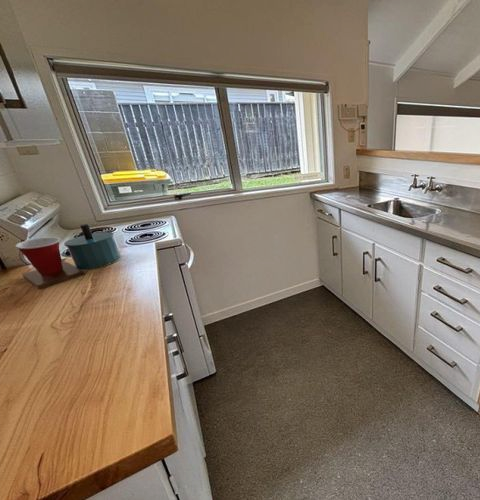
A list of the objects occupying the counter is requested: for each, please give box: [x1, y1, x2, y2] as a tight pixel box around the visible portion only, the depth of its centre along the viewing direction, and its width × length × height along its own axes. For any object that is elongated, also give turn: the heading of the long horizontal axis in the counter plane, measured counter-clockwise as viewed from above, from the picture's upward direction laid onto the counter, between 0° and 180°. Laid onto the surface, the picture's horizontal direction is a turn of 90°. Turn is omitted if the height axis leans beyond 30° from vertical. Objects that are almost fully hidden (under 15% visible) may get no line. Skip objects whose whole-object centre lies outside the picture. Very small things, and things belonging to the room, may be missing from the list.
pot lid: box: [63, 223, 115, 248], centre depth 108 cm, size 15×15×7 cm
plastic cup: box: [14, 236, 63, 276], centre depth 100 cm, size 11×11×12 cm
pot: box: [66, 236, 121, 271], centre depth 111 cm, size 14×14×10 cm
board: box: [21, 261, 86, 290], centre depth 102 cm, size 12×18×2 cm, turn 59°
